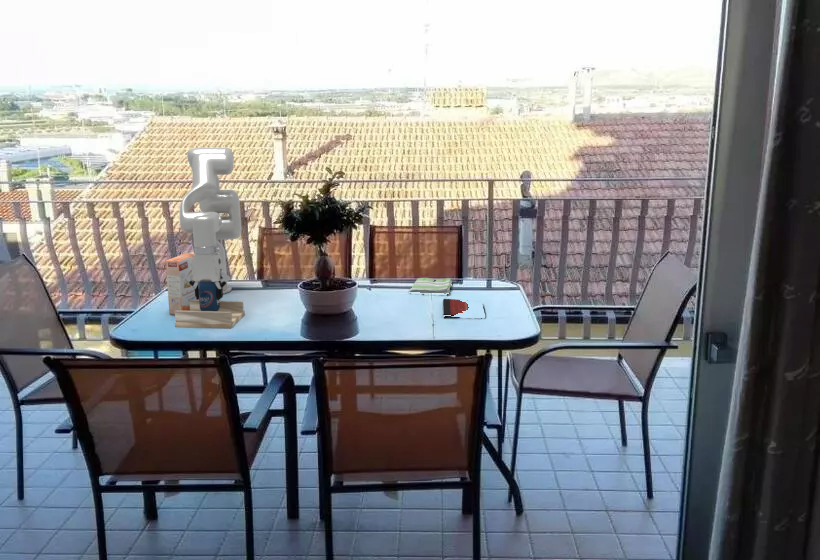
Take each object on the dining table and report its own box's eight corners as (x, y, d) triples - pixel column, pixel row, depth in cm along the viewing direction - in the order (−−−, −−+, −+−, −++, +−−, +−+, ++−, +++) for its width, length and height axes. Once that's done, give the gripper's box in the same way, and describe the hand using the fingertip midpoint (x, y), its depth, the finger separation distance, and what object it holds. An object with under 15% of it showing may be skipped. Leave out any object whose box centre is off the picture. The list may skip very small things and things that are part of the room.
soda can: (196, 313, 232) (194, 280, 229) (205, 307, 239) (202, 276, 236) (215, 314, 231) (212, 281, 228) (223, 308, 238) (221, 277, 235)
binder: (443, 313, 239) (442, 298, 260) (442, 319, 240) (442, 303, 260) (486, 316, 239) (483, 300, 259) (486, 322, 240) (482, 306, 260)
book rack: (192, 313, 244) (191, 299, 243) (244, 314, 243) (243, 300, 242) (175, 327, 229) (173, 312, 227) (230, 328, 228) (229, 313, 226)
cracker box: (183, 316, 241) (179, 261, 236) (169, 315, 242) (163, 260, 237) (202, 305, 254) (198, 253, 249) (188, 304, 256) (184, 252, 250)
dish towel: (407, 295, 271) (407, 287, 271) (415, 281, 294) (415, 274, 293) (448, 297, 269) (448, 289, 268) (453, 283, 291) (453, 275, 290)
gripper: (233, 248, 233) (236, 296, 237) (185, 247, 234) (189, 295, 238) (226, 253, 225) (229, 302, 230) (177, 252, 226) (181, 301, 231)
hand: (209, 298), depth 234 cm, fingers closed on soda can, 7 cm apart
